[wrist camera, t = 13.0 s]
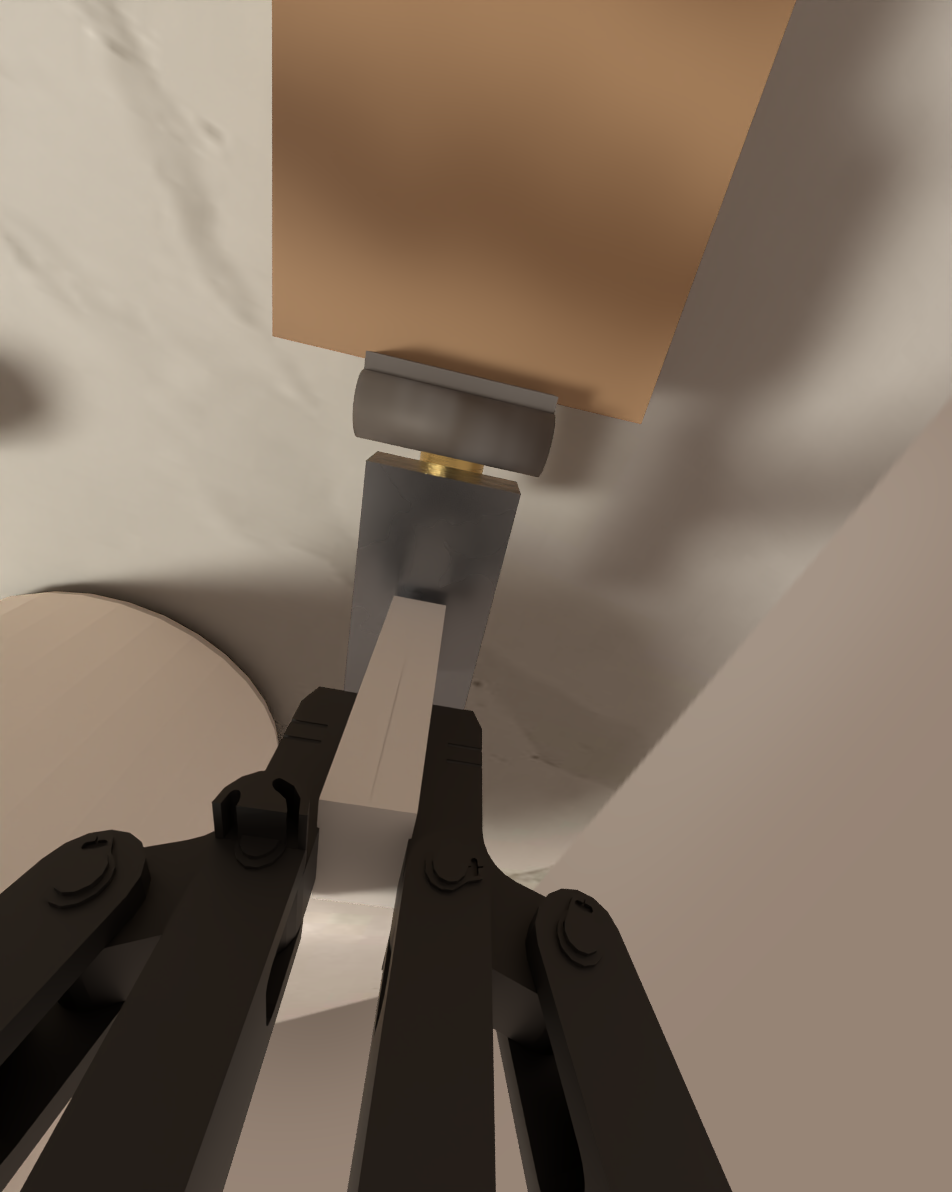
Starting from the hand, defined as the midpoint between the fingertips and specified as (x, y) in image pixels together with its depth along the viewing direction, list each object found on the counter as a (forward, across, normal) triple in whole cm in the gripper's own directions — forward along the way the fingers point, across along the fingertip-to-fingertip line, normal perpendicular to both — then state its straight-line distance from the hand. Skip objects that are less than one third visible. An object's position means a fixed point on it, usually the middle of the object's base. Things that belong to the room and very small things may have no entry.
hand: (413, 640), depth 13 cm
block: (+11, 0, +11) cm, 16 cm away
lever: (+2, 0, +1) cm, 2 cm away
